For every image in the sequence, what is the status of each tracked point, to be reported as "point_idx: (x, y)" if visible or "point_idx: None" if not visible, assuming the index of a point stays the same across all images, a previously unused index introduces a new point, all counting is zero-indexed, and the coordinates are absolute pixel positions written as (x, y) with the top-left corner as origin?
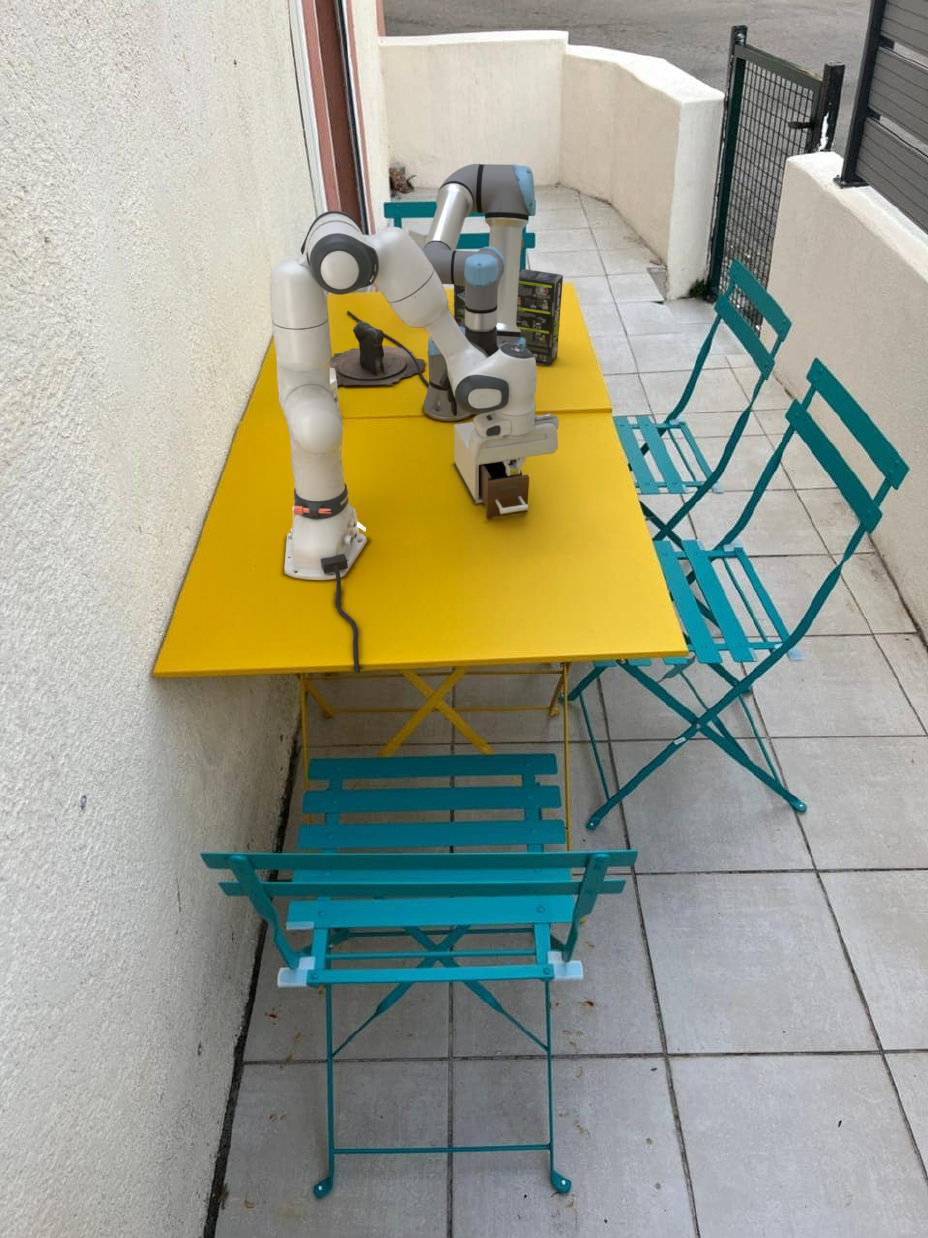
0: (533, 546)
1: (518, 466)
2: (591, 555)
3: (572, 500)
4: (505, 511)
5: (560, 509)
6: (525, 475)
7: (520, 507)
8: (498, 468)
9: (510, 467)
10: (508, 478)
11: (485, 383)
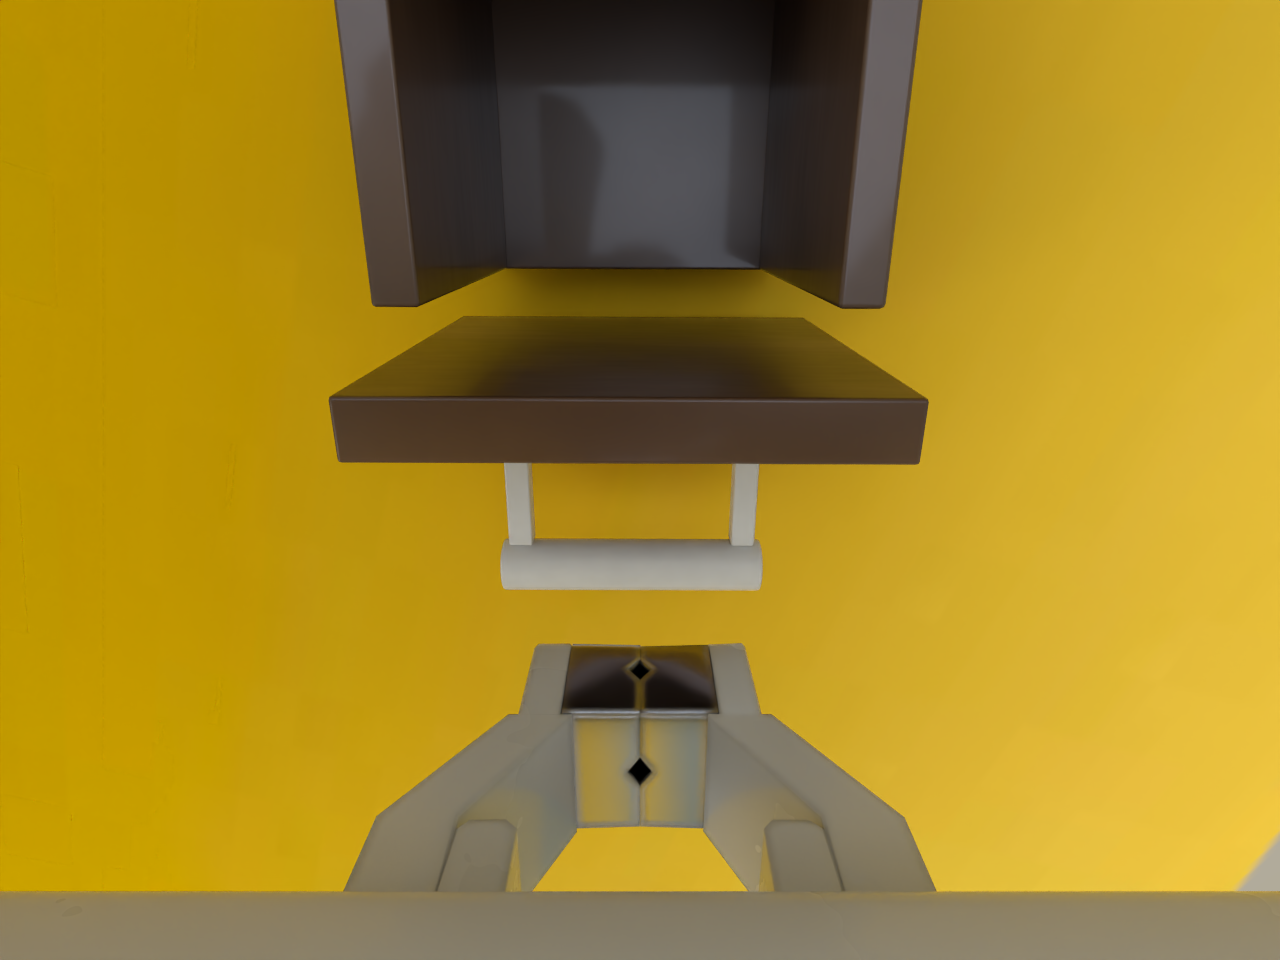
0: None
1: (721, 849)
2: (969, 827)
3: (1232, 245)
4: (544, 589)
5: (1068, 343)
6: (888, 421)
7: (685, 589)
8: None
9: (587, 774)
10: (639, 426)
11: None
